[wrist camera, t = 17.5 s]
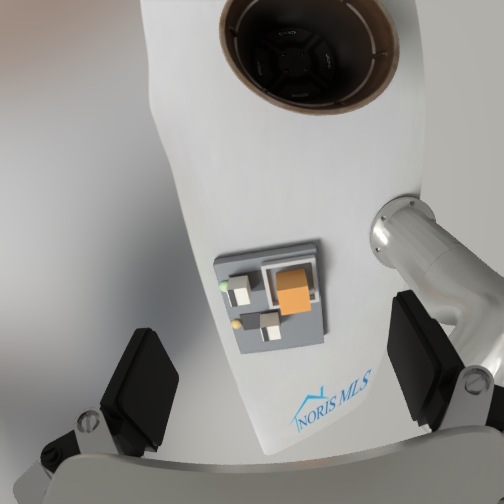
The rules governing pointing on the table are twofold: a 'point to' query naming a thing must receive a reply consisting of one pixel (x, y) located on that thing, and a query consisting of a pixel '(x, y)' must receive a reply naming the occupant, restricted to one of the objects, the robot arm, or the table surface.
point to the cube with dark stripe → (270, 326)
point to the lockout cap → (293, 292)
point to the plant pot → (311, 51)
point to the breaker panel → (272, 297)
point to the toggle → (239, 291)
